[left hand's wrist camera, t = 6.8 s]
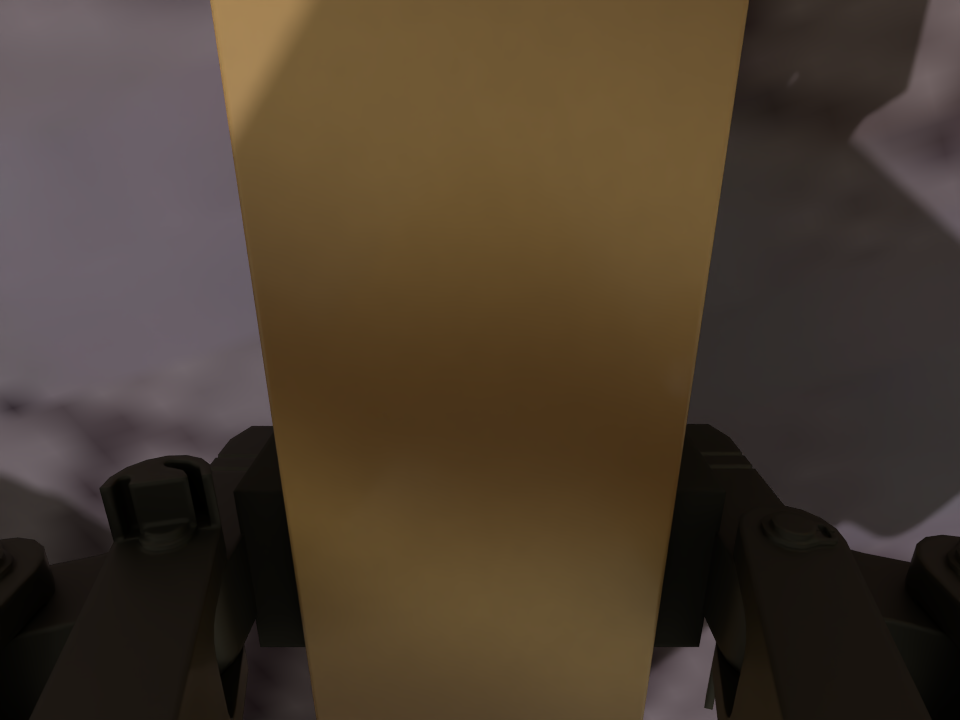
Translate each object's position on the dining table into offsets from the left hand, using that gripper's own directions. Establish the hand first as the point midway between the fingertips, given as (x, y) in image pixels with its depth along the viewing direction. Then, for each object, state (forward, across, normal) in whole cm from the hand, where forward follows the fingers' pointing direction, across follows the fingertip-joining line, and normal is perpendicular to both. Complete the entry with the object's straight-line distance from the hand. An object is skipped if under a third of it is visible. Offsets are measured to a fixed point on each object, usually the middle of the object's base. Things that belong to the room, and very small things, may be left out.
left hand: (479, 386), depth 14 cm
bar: (0, 0, -34) cm, 34 cm away
